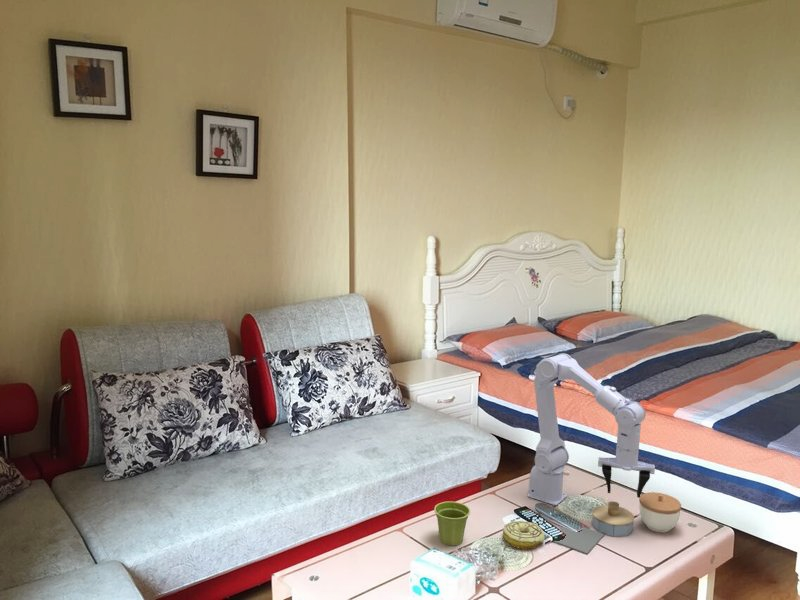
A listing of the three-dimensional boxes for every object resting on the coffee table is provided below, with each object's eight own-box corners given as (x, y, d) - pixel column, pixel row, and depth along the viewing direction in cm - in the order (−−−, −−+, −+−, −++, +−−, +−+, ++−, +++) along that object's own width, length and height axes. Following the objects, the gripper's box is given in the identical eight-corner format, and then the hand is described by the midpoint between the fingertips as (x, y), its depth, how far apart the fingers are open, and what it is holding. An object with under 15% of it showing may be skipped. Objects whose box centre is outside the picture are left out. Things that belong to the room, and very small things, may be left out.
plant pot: (443, 527, 179) (443, 498, 178) (474, 536, 174) (475, 506, 173) (427, 543, 171) (428, 512, 170) (460, 553, 166) (461, 522, 165)
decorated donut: (551, 546, 171) (552, 533, 170) (517, 555, 166) (518, 541, 166) (528, 527, 180) (529, 514, 179) (495, 535, 176) (496, 522, 175)
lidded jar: (671, 518, 186) (674, 487, 184) (684, 538, 175) (687, 506, 174) (633, 516, 187) (635, 485, 185) (643, 535, 176) (645, 503, 175)
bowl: (587, 527, 180) (588, 517, 179) (601, 514, 188) (601, 503, 187) (623, 540, 174) (624, 529, 173) (636, 525, 182) (637, 514, 181)
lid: (586, 517, 179) (586, 505, 179) (600, 503, 188) (601, 491, 187) (626, 529, 173) (627, 516, 172) (639, 514, 181) (640, 502, 181)
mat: (543, 538, 174) (543, 537, 174) (562, 521, 183) (562, 519, 183) (587, 554, 167) (587, 553, 167) (604, 535, 176) (604, 534, 176)
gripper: (599, 448, 175) (595, 496, 177) (657, 456, 171) (652, 504, 173) (599, 439, 182) (596, 484, 184) (655, 446, 177) (650, 492, 180)
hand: (623, 493), depth 179 cm, fingers open, 7 cm apart
